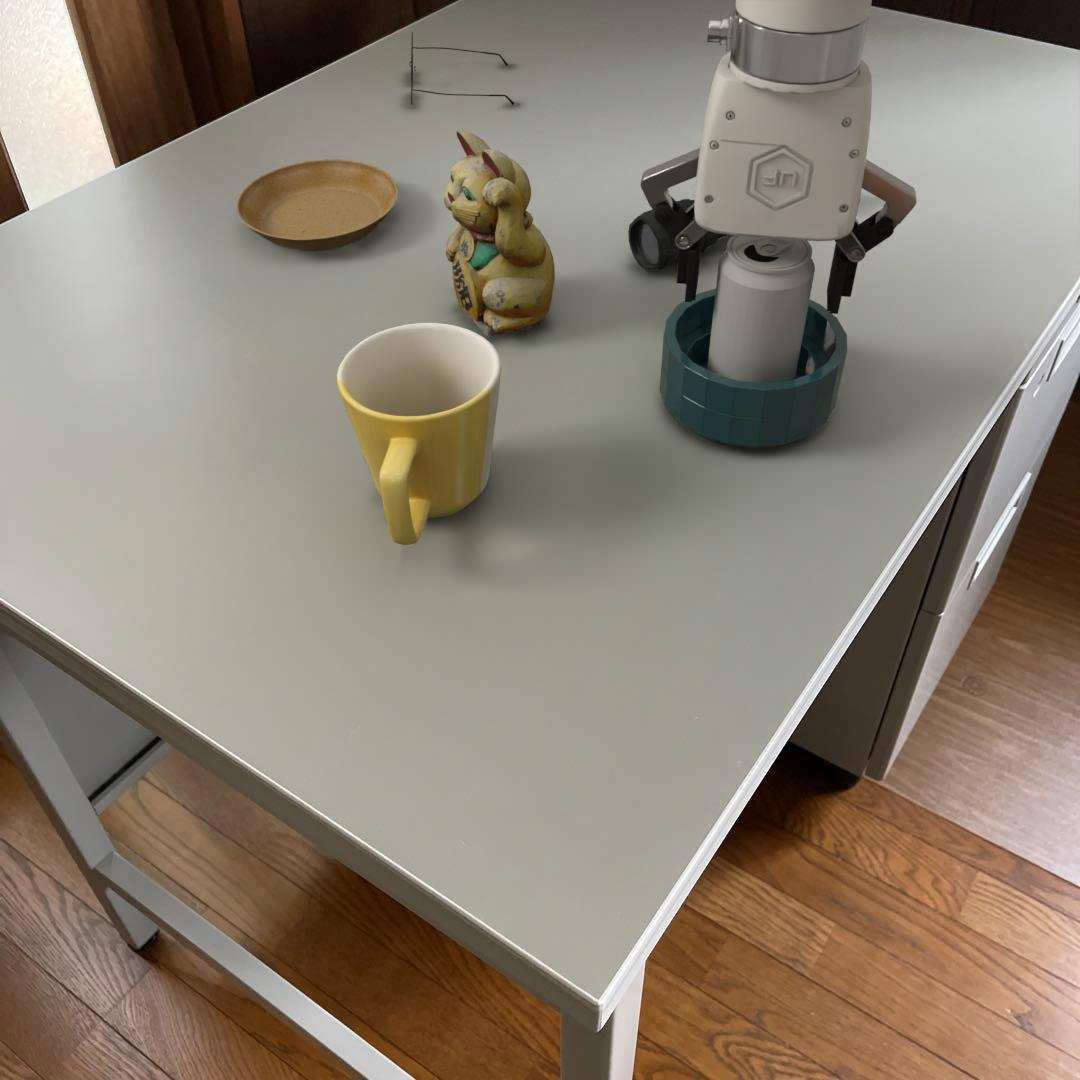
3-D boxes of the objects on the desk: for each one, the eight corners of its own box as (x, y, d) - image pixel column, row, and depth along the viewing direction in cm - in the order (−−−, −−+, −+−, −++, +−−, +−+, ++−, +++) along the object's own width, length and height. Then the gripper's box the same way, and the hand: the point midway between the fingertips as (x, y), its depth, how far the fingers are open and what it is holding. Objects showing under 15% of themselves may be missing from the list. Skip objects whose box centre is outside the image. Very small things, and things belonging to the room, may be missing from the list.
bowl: (832, 359, 86) (845, 292, 82) (833, 465, 77) (848, 397, 73) (668, 344, 88) (673, 278, 84) (651, 447, 79) (655, 379, 75)
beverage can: (687, 390, 82) (700, 245, 74) (744, 355, 85) (763, 212, 77) (752, 430, 79) (775, 283, 70) (810, 392, 82) (838, 247, 73)
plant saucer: (373, 271, 96) (369, 244, 95) (215, 256, 99) (209, 230, 97) (420, 190, 107) (417, 165, 105) (276, 178, 109) (271, 153, 107)
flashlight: (625, 257, 97) (627, 205, 94) (803, 193, 105) (811, 143, 101) (659, 283, 94) (662, 230, 91) (840, 215, 102) (849, 164, 98)
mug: (396, 430, 81) (379, 308, 73) (528, 459, 78) (523, 335, 71) (309, 558, 72) (279, 434, 64) (454, 595, 69) (441, 469, 62)
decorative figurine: (435, 301, 93) (418, 128, 82) (517, 271, 96) (511, 101, 85) (495, 357, 87) (485, 178, 77) (581, 323, 90) (583, 147, 80)
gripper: (641, 60, 63) (629, 317, 75) (956, 77, 60) (892, 339, 72) (655, 12, 68) (642, 259, 80) (946, 25, 66) (887, 278, 78)
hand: (761, 297), depth 76 cm, fingers open, 9 cm apart
